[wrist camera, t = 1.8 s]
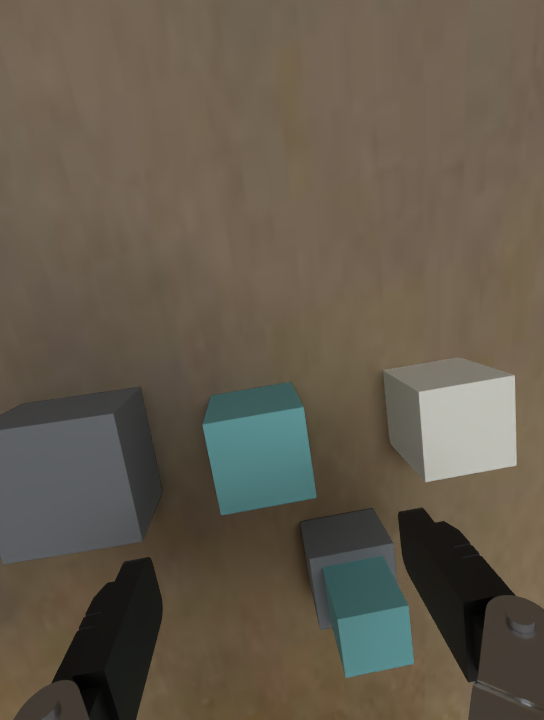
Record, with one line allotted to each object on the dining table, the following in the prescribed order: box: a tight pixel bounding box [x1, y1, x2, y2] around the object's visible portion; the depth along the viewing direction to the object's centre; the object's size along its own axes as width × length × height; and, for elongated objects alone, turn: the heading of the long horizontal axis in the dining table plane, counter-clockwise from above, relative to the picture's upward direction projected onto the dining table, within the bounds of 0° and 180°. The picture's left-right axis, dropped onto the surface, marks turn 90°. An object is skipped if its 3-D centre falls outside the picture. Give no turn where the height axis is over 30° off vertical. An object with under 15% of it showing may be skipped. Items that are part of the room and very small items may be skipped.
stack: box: [300, 508, 414, 678], centre depth 22 cm, size 5×5×7 cm
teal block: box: [202, 382, 317, 515], centre depth 21 cm, size 5×5×5 cm
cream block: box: [383, 357, 517, 482], centre depth 22 cm, size 5×5×5 cm
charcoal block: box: [0, 387, 162, 564], centre depth 21 cm, size 7×7×5 cm
